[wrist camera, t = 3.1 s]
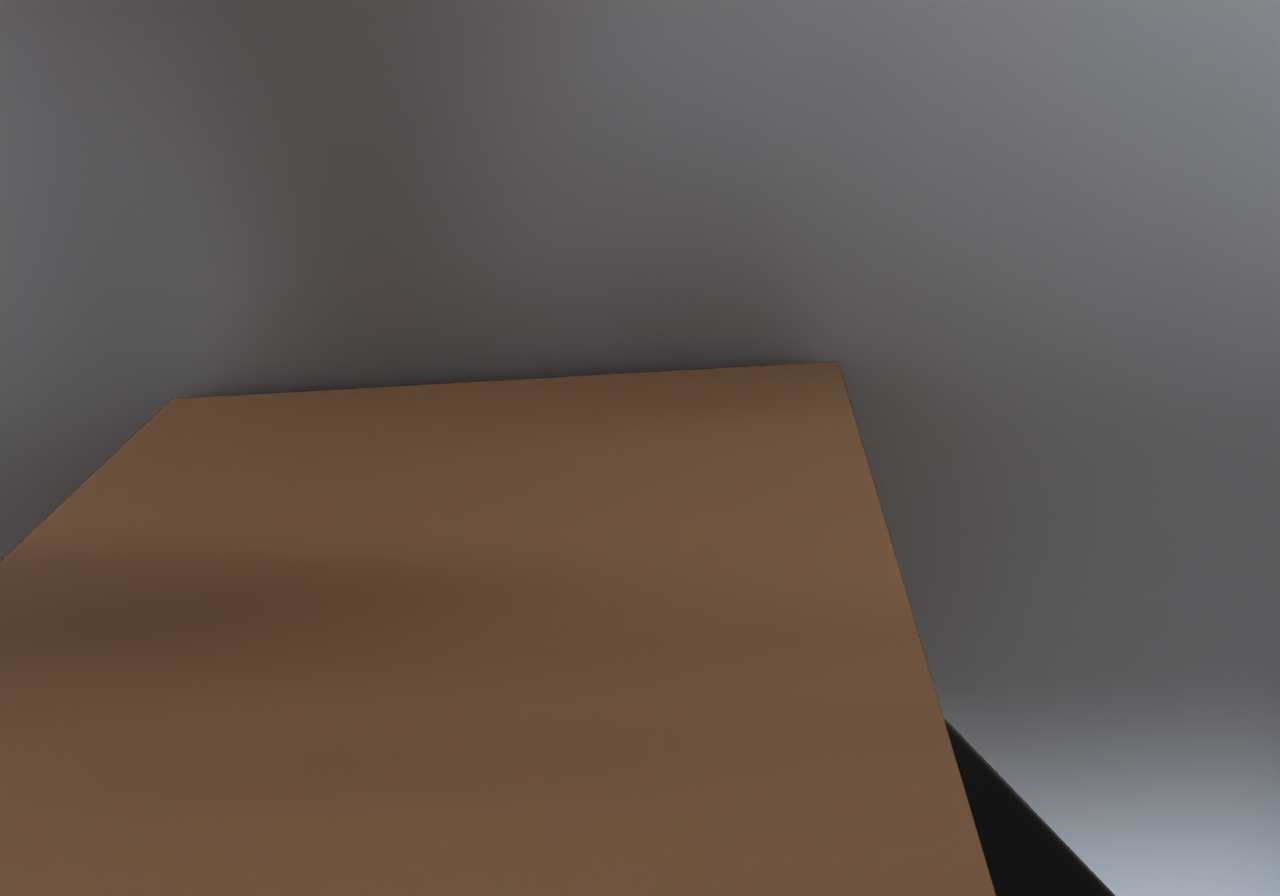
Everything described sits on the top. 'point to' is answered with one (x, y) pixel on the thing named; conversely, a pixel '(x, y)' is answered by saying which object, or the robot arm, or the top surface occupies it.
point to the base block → (479, 652)
